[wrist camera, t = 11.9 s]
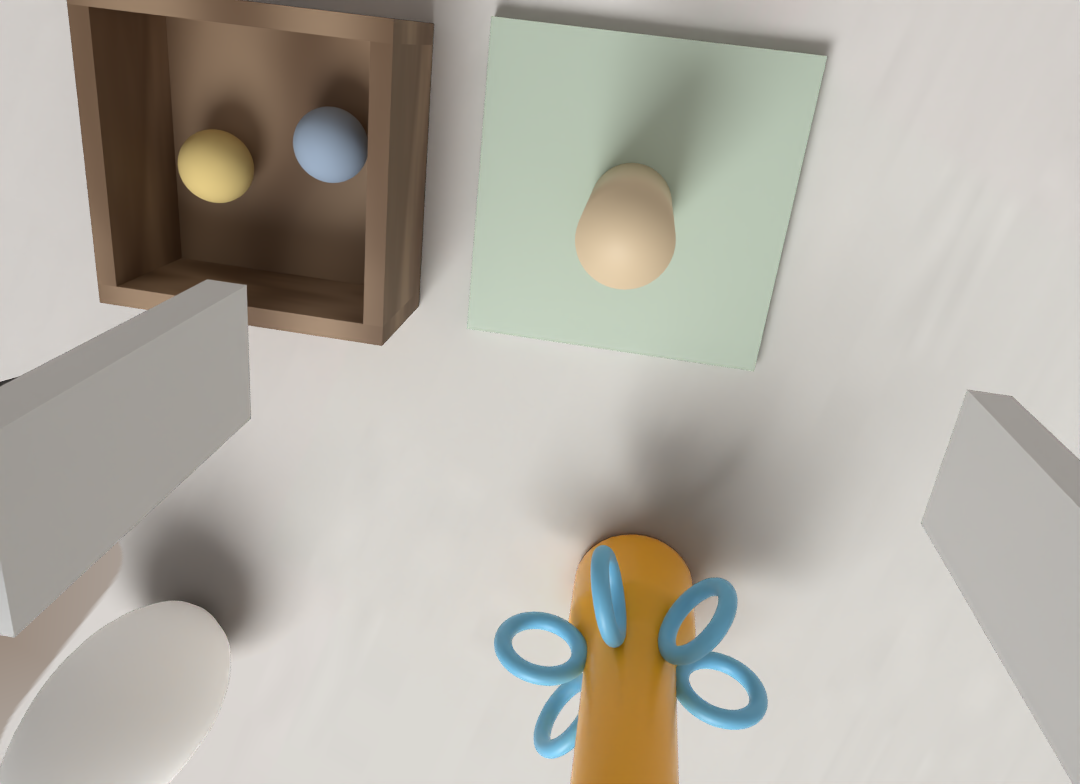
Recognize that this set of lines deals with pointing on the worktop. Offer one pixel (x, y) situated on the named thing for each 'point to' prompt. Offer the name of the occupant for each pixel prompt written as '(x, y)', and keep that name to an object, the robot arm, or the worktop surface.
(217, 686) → the sauce bottle
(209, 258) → the box
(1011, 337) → the worktop surface
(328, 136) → the ball
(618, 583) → the cylinder
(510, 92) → the lid
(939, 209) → the worktop surface
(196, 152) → the ball
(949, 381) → the worktop surface
